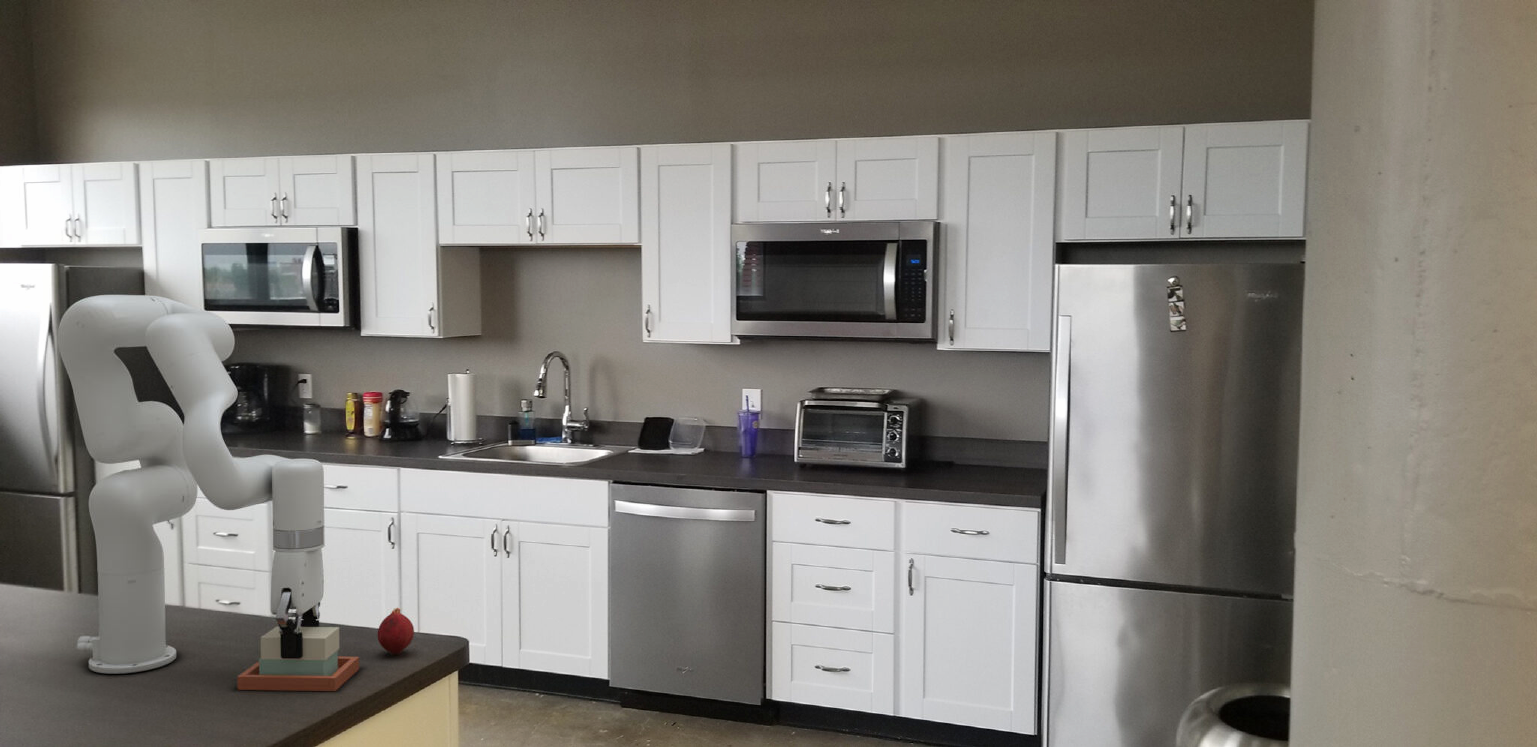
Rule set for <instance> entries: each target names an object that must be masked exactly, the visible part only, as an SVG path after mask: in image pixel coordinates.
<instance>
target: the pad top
mask: <svg viewBox="0 0 1537 747" xmlns="http://www.w3.org/2000/svg"><path fill="white" fill-rule="evenodd" d="M279 628H280V627H279V625H277V626H275V627H274V628H272V629H271V630H269V631H268V632H266V633H265V634H263V635H262V636H260V658H261V659H273V660H326V659H327V658H329V657H330V656H331V655H332V654H333V653H335V652H336V651H337V650H338V651H339V650H340V627H339V626H335V627H334V626H319V627H300V632H302V635H303V656H302V657H301V658H300V659H283V658H281V642H280V633H279Z"/></svg>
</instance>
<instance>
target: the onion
mask: <svg viewBox="0 0 1537 747" xmlns="http://www.w3.org/2000/svg"><path fill="white" fill-rule="evenodd" d="M376 634H377V636H376V637H377V641H378V642H379V644H380V646H381V648H383V649H384V650H385V651H387V652H388V653H390V654H392V655H394V656H397V655H399V654H401V653H402V652H403V651H404V650H406V648H408V647H409V645H410V644H411V643H412V642H413V639H414V635H415V627H414V625H413V623H412V621H411V620H410V619H409V618H408V617H407V616H406V615H404V614H403V613H401V608H399V607H395V608H393V610H392V611H391V612H390V614H388V615H387V616H385V617H384V618H383V619H382V621H381V623H380V624H379V626H378V629H377V633H376Z"/></svg>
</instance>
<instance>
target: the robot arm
mask: <svg viewBox="0 0 1537 747" xmlns="http://www.w3.org/2000/svg"><path fill="white" fill-rule="evenodd" d="M235 342H236V340H235V335H234V331H233V330H232V328H231V326H230V324H229V323H228V322H227V321H226V320H225V319H224V318H223V317H221V316H219V315H218V314H216V313H213V312H210V311H208V310H205V309H202V308H199V307H196V306H192V305H189V304H186V303H183V302H180V301H177V300H174V299H171V298H168V297H164V296H159V295H147V294H145V295H144V294H142V295H141V294H100V295H93V296H89V297H85V298H82V299H80V300H78V301H76V302H75V303H73V304H72V305H71V306H69V307H68V309H67V310H66V311H65V312H64V314H63V316H62V317H61V319H60V322H59V324H58V329H57V345H58V351H59V354H60V357H61V360H62V363H63V366H64V368H65V370H66V373H67V375H68V378H69V380H70V384H71V388H72V391H73V396H74V397H73V398H74V402H75V406H76V410H77V414H78V419H79V423H80V427H81V431H82V435H83V440H84V443H85V447H86V449H87V451H88V454H89V455H90V457H91V458H92V459H93V460H95V461H96V462H98V463H100V464H106V465H113V464H122V463H129V462H135V461H138V462H139V465H140V467H137V468H133V469H127V470H122V471H118V472H114V473H111V474H109V475H107V476H105V477H103V478H102V479H100V480H99V481H98V482H96V484H95V485H94V486H93V488H92V489H91V491H90V494H89V498H88V511H89V516H90V519H91V524H92V527H93V528H92V529H93V532H94V538H95V547H96V561H97V562H96V566H97V598H98V604H97V605H98V636H92V635H90V636H89V635H81V636H79V637H78V639H77V643H76V651H77V652H91V653H92V656H91V657H90V658H89V660H88V669H89V670H90V671H92V672H96V673H99V674H106V675H120V674H121V675H122V674H132V673H140V672H145V671H150V670H155V669H158V668H161V667H165V666H166V665H168V664H170V663H172V662H173V661H174V660H176V658H177V649H176V648H175V647H173V646H171V645H168V644H167V641H166V639H167V637H166V583H165V582H166V581H165V578H166V577H165V554H164V549H163V544H162V543H161V540H160V538H159V536H158V535H157V533H156V530H155V529H154V525H157V524H160V523H163V522H164V523H165V522H168V521H171V520H175V519H178V518H181V517H183V516H186V515H187V514H188V513H189V512H190V511H191V510H193V508H194V506H195V504H196V503H197V499H198V491H199V490H200V491H201V493H202V494H203V495H204V497H205V498H206V499H207V501H209V502H210V504H212V505H213V506H215V507H217V508H218V509H220V510H224V511H236V510H240V509H244V508H248V507H251V506H252V507H253V506H255V505H261V504H264V503H270V502H271V503H272V506H271V507H272V508H271V509H272V550H273V551H274V554H273V560H272V565H271V566H272V569H271V580H270V613H271V614H272V615H275V620H276V622H277V626H279V627H280V628H279V633H280V642H281V658H283V659H300V658H301V657H302V656H303V635H302V632H300V627H320V618H321V612H320V606H321V601H322V600H323V598H324V592H325V588H324V587H325V579H324V577H325V575H324V562H323V552H322V551H323V550H322V549H323V548H325V546H326V545H325V544H326V543H325V541H326V540H325V539H326V538H325V536H326V535H325V476H324V475H325V474H324V466H323V464H322V462H320V461H319V460H318V459H313V458H289V457H284V456H281V455H280V456H279V455H276V454H275V455H274V454H260V455H259V454H258V455H254V456H249V457H242V458H238V459H235V458H234V457H233V456H232V454H231V452H230V450H229V448H228V447H227V445H226V443H225V440H224V437H223V435H222V430H221V422H222V417H223V414H224V413H225V411H226V410H227V409H228V408H230V407H231V406H232V405H233V404H234V403H235V402H236V400H237V398H238V394H239V392H238V388H237V386H236V385H235V383H234V381H233V380H232V378H231V376H230V375H229V373H228V372H227V369H226V368H225V366H224V364H223V362H224V361H226V360H227V359H228V358H229V357H231V355H232V353H233V351H234V349H235V344H236V343H235ZM136 347H137V348H138V347H146V348H147V351H148V352H149V355H150V357H151V358H152V360H153V362H154V364H155V365H156V367H157V369H158V371H159V372H160V374H161V376H162V377H163V379H164V381H165V383H166V384H167V386H168V388H169V390H170V391H171V393H172V395H173V397H174V398H175V401H176V402H177V404H178V406H179V407H180V409H181V411H182V413H183V417H184V421H183V420H182V419H181V418H180V416H179V414H178V413H177V412H176V411H175V410H174V409H173V408H172V407H171V406H169V405H168V404H166V403H163V402H160V401H154V400H149V401H139V400H138V397H137V394H136V391H135V387H134V383H133V382H134V381H133V378H132V376H131V373H130V371H129V370H128V368H127V366H126V365H125V363H124V362H123V361H122V360H121V358H119V357H118V356H117V355H116V353H115V350H116V349H118V348H136ZM198 488H199V490H198ZM290 610H295V612H289V611H290ZM292 618H294V621H293V619H292Z"/></svg>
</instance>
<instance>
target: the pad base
mask: <svg viewBox="0 0 1537 747" xmlns="http://www.w3.org/2000/svg"><path fill="white" fill-rule="evenodd" d="M338 652H339V649H338V650H337V651H336V652H335V653H333V654H332V655H331V656H330V657H329V658H327V659H326V660H273V659H261V657H260V658H259V659H258V661H259V675H307V676H331V675H333V674H334V673H335V672H336V671H337V670H338V656H339V653H338Z"/></svg>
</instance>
